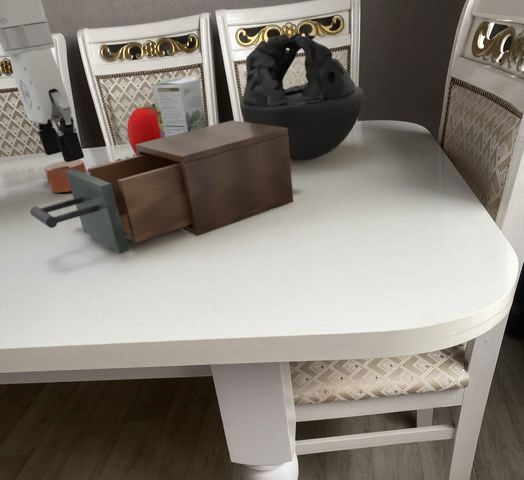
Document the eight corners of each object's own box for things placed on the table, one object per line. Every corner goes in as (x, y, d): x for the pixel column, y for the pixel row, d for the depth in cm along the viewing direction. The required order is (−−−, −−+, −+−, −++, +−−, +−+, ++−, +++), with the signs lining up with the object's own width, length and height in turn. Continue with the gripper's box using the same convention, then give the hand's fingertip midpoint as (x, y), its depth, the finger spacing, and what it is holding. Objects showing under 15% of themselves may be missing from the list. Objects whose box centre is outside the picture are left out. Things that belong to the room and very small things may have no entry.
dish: (58, 196, 88) (51, 172, 86) (46, 190, 92) (38, 166, 90) (95, 186, 91) (89, 162, 89) (82, 180, 95) (75, 157, 93)
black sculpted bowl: (271, 145, 102) (260, 33, 92) (374, 143, 95) (375, 21, 85) (229, 176, 87) (210, 45, 77) (347, 175, 80) (344, 31, 69)
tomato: (120, 168, 100) (106, 109, 95) (161, 152, 108) (150, 98, 102) (166, 171, 94) (154, 109, 88) (206, 155, 102) (197, 96, 96)
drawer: (68, 271, 58) (44, 201, 53) (37, 246, 66) (14, 183, 61) (223, 217, 67) (214, 154, 63) (180, 201, 75) (168, 144, 71)
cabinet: (197, 236, 65) (182, 156, 60) (151, 215, 74) (134, 144, 69) (293, 201, 72) (287, 127, 67) (241, 186, 81) (232, 120, 76)
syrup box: (185, 166, 95) (169, 78, 87) (213, 167, 93) (199, 76, 85) (168, 176, 91) (149, 83, 83) (196, 176, 89) (179, 81, 81)
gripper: (-12, 46, 84) (28, 156, 93) (17, 42, 72) (60, 169, 81) (34, 38, 87) (68, 145, 97) (69, 34, 75) (105, 157, 84)
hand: (64, 156), depth 89 cm, fingers open, 9 cm apart
